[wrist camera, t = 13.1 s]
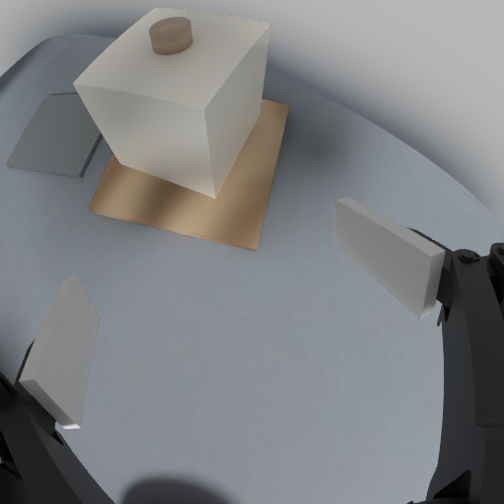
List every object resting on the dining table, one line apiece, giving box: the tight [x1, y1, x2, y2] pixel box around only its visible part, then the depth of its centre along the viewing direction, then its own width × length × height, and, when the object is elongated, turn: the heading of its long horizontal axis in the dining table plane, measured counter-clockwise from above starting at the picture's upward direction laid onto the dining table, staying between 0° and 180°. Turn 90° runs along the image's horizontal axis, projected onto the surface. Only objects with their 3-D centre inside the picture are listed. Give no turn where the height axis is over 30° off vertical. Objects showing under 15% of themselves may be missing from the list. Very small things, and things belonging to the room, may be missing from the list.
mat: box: [6, 94, 103, 178], centre depth 24 cm, size 12×10×1 cm
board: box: [89, 99, 290, 251], centre depth 23 cm, size 14×14×1 cm
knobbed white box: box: [73, 8, 271, 199], centre depth 18 cm, size 9×9×11 cm
